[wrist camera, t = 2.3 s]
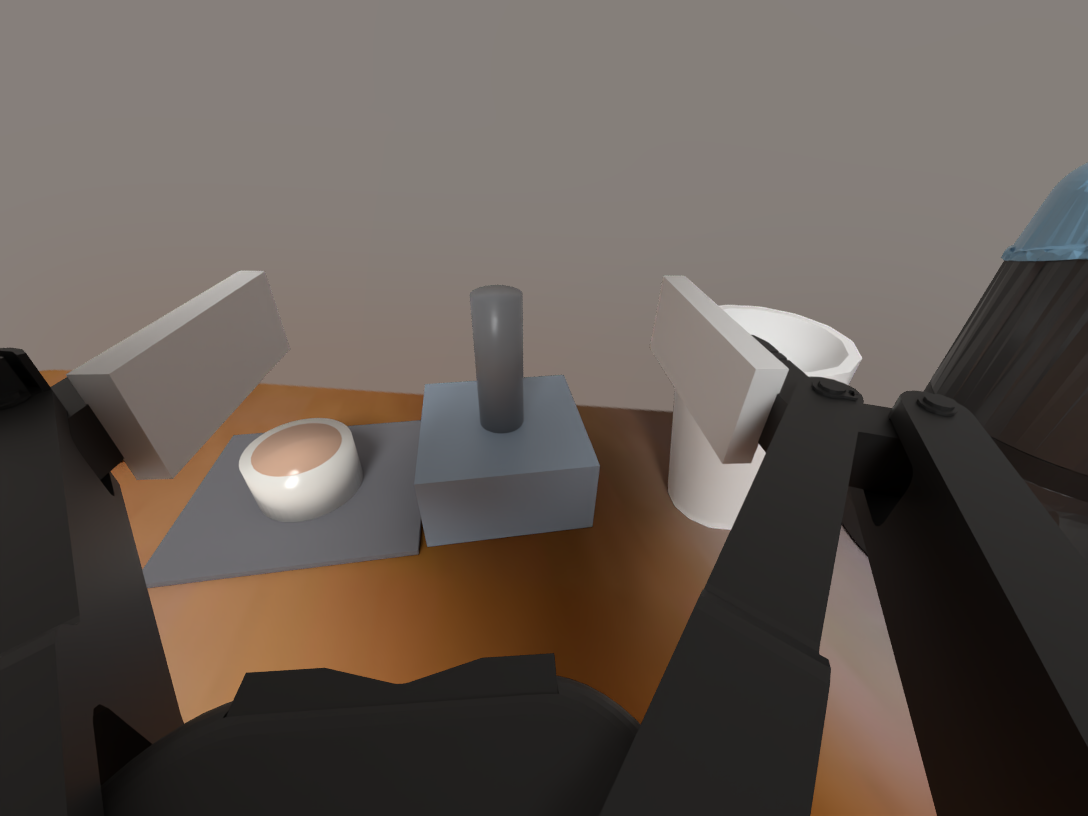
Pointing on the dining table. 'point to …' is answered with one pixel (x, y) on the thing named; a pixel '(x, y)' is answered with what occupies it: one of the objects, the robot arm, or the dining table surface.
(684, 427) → the foam cup
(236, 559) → the mat
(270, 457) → the bowl
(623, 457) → the dining table surface
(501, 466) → the cover
